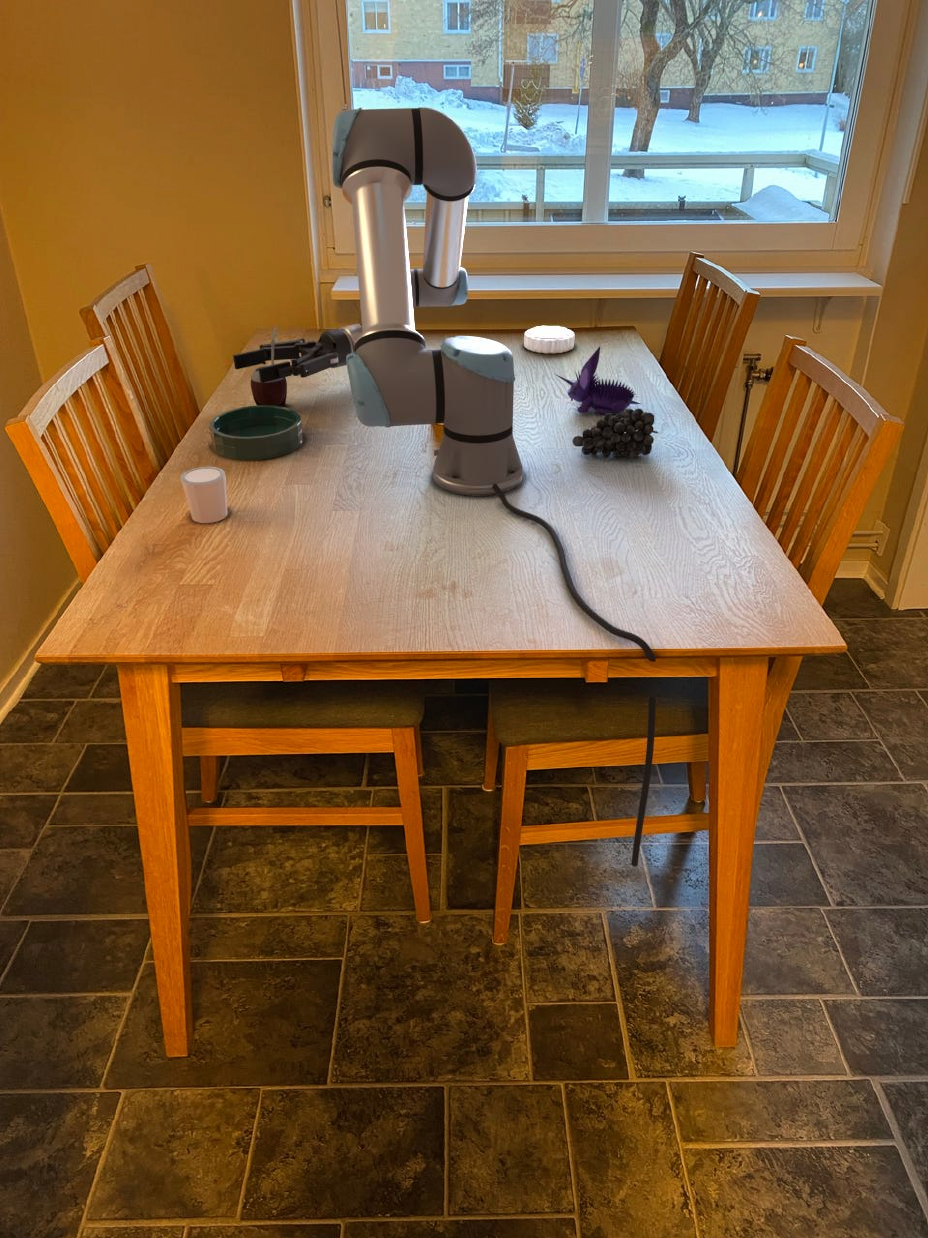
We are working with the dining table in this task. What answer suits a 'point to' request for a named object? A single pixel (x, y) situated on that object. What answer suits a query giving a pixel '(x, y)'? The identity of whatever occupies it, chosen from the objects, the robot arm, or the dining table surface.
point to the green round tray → (256, 432)
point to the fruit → (619, 435)
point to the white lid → (549, 339)
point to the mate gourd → (269, 386)
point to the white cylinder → (205, 493)
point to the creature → (598, 391)
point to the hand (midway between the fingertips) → (247, 368)
